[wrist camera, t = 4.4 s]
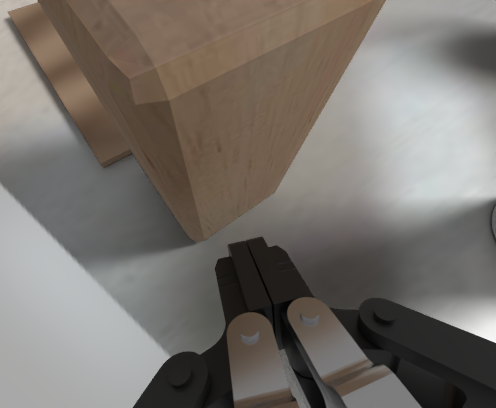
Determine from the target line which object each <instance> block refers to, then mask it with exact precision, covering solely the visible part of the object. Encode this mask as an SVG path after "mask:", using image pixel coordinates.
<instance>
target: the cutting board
mask: <svg viewBox="0 0 496 408" xmlns="http://www.w3.org/2000/svg"><path fill="white" fill-rule="evenodd" d="M8 14H9V15H10V17H11V19H12V20H13V22H14V24H15V25H16V27H17V29H18V30H19V32H20V33H21V35H22V37H23V38H24V40H25V42H26V43H27V45H28V47H29V48H30V50H31V51H32V53H33V55H34V56H35V58H36V60H37V61H38V63H39V64H40V66H41V68H42V69H43V71H44V73H45V74H46V76H47V78H48V79H49V81H50V82H51V84H52V86H53V87H54V89H55V91H56V92H57V94H58V96H59V97H60V99H61V100H62V102H63V104H64V105H65V107H66V109H67V110H68V112H69V114H70V115H71V117H72V118H73V120H74V122H75V123H76V125H77V127H78V128H79V130H80V131H81V133H82V135H83V136H84V138H85V140H86V141H87V143H88V145H89V146H90V148H91V149H92V151H93V153H94V154H95V156H96V158H97V159H98V161H99V163H100V164H101V165H102V166H103V167H106V166H108V165H110V164H112V163H114V162H116V161H118V160H120V159H122V158H124V157H126V156H128V155H130V154H132V152H131V150H130V149H129V147H128V145H127V144H126V142H125V141H124V139H123V137H122V136H121V134H120V132H119V131H118V129H117V128H116V126H115V124H114V123H113V121H112V120H111V118H110V116H109V115H108V113H107V112H106V110H105V108H104V107H103V105H102V103H101V102H100V100H99V99H98V97H97V95H96V94H95V92H94V91H93V89H92V87H91V86H90V84H89V83H88V81H87V79H86V78H85V76H84V74H83V73H82V71H81V70H80V68H79V66H78V65H77V63H76V62H75V60H74V58H73V57H72V55H71V54H70V52H69V50H68V49H67V47H66V45H65V44H64V42H63V41H62V39H61V37H60V36H59V34H58V33H57V31H56V29H55V28H54V26H53V25H52V23H51V21H50V20H49V18H48V16H47V15H46V13H45V12H44V10H43V8H42V7H41V5H40V4H39V2H38V3H35V4H31V5H28V6H25V7H22V8H18V9H15V10H12V11H9V12H8Z"/></svg>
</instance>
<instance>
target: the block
mask: <svg viewBox="0 0 496 408" xmlns="http://www.w3.org/2000/svg"><path fill="white" fill-rule="evenodd" d="M385 1H386V0H38V2H39V4H40V5H41V7H42V8H43V10H44V12H45V13H46V15H47V16H48V18H49V20H50V21H51V23H52V25H53V26H54V28H55V29H56V31H57V33H58V34H59V36H60V37H61V39H62V41H63V42H64V44H65V45H66V47H67V49H68V50H69V52H70V54H71V55H72V57H73V58H74V60H75V62H76V63H77V65H78V66H79V68H80V70H81V71H82V73H83V74H84V76H85V78H86V79H87V81H88V83H89V84H90V86H91V87H92V89H93V91H94V92H95V94H96V95H97V97H98V99H99V100H100V102H101V103H102V105H103V107H104V108H105V110H106V112H107V113H108V115H109V116H110V118H111V120H112V121H113V123H114V124H115V126H116V128H117V129H118V131H119V132H120V134H121V136H122V137H123V139H124V141H125V142H126V144H127V145H128V147H129V149H130V150H131V152H132V153H133V155H134V157H135V158H136V160H137V161H138V163H139V165H140V166H141V168H142V169H143V171H144V172H145V174H146V175H147V177H148V178H149V180H150V181H151V183H152V184H153V186H154V187H155V189H156V190H157V191H158V193H159V194H160V196H161V197H162V199H163V200H164V202H165V203H166V205H167V206H168V208H169V209H170V211H171V212H172V213H173V215H174V216H175V218H176V219H177V221H178V222H179V224H180V225H181V227H182V228H183V230H184V231H185V233H186V234H187V235H188V237H189V238H190V239H192V240H194V241H195V242H199V241H203V240H206V239H207V238H209V237H210V236H212V235H213V234H215V233H216V232H218V231H219V230H220V229H222V228H223V227H225V226H226V225H228V224H229V223H231V222H232V221H234V220H235V219H237V218H238V217H239V216H241V215H242V214H244V213H245V212H247V211H248V210H250V209H251V208H253V207H254V206H256V205H257V204H258V203H260V202H261V201H263V200H264V199H266V198H267V197H269V196H270V195H272V194H273V193H274V192H275V191H276V189H277V187H278V186H279V184H280V182H281V181H282V179H283V177H284V175H285V174H286V172H287V170H288V168H289V167H290V165H291V163H292V162H293V160H294V158H295V156H296V155H297V153H298V151H299V149H300V148H301V146H302V144H303V143H304V141H305V139H306V137H307V136H308V134H309V132H310V131H311V129H312V127H313V125H314V124H315V122H316V120H317V118H318V117H319V115H320V113H321V112H322V110H323V108H324V106H325V105H326V103H327V101H328V99H329V98H330V96H331V94H332V93H333V91H334V89H335V87H336V86H337V84H338V82H339V80H340V79H341V77H342V75H343V74H344V72H345V70H346V68H347V67H348V65H349V63H350V61H351V60H352V58H353V56H354V55H355V53H356V51H357V49H358V48H359V46H360V44H361V43H362V41H363V39H364V37H365V36H366V34H367V32H368V30H369V29H370V27H371V25H372V24H373V22H374V20H375V18H376V17H377V15H378V13H379V11H380V10H381V8H382V6H383V5H384V3H385Z"/></svg>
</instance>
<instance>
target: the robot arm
mask: <svg viewBox="0 0 496 408" xmlns="http://www.w3.org/2000/svg"><path fill="white" fill-rule="evenodd" d="M492 229H493V233H494V236H495V239H496V206H495V208H494V210H493V213H492ZM228 250H229V257H225V258H221V259H218V261H217V264H216V267H215V271H216V276H217V281H218V287H219V292H220V297H221V302H222V306H223V311H224V316H225V321H226V327H225V331H224V333H223V335H222V337H221V338H220V340H219V341H218V342H217V343H216V344H215V345H214V346H212V347H211V348H210V349H208V350H207V351H205V352H204V353H202V354H201V355H199V354H197V353H194V352H189V351H188V352H181V353H178V354H176V355H174V356H172V357H171V358H169V359H168V360H167V361H166V362H165V363H164V364H163V365H162V367H161V368H160V369H159V371H158V372H157V374H156V375H155V376H154V378H153V379H152V381H151V382H150V384H149V385H148V387H147V388H146V389H145V391H144V392H143V394H142V395H141V397H140V398H139V399H138V401H137V402H136V404H135V405H134V407H133V408H299V406H298V403H297V401H296V399H295V398H294V397H293V396H292V393H291V390H290V387H289V384H288V380H287V377H286V373H285V370H284V366H283V363H282V359H281V356H280V353H279V350H282V349H285V352H286V354H287V357H288V359H289V370H290V373H291V375H292V378H293V380H294V382H295V384H296V386H297V388H298V390H299V393H300V395H301V397H302V399H303V401H304V403H305V405H306V408H496V343H494V342H492V341H489V340H487V339H484V338H482V337H479V336H477V335H474V334H472V333H469V332H466V331H464V330H461V329H459V328H456V327H454V326H451V325H449V324H446V323H444V322H441V321H439V320H436V319H434V318H431V317H429V316H426V315H424V314H421V313H419V312H416V311H414V310H411V309H409V308H406V307H404V306H401V305H399V304H396V303H394V302H391V301H389V300H386V299H381V298H371V299H368V300H366V301H364V302H363V303H362V304H361V305H360V308H359V310H340V309H333V308H330V307H328V306H327V305H326V304H325V303H324V302H322V301H321V300H318V299H316V298H314V296H313V295H312V293H311V291H310V290H309V288H308V287H307V285H306V283H305V282H304V280H303V279H302V277H301V275H300V274H299V272H298V271H297V269H296V268H295V266H294V264H293V262H291V259H290V258H289V256H288V254H287V253H286V251H284V250H283V249H281V248H280V247H278V246H272V247H268V246H267V244H266V242H265V240H264V239H263V237H258V238H254V239H250V240H246V241H241V242H236V243H232V244H228Z"/></svg>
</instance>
